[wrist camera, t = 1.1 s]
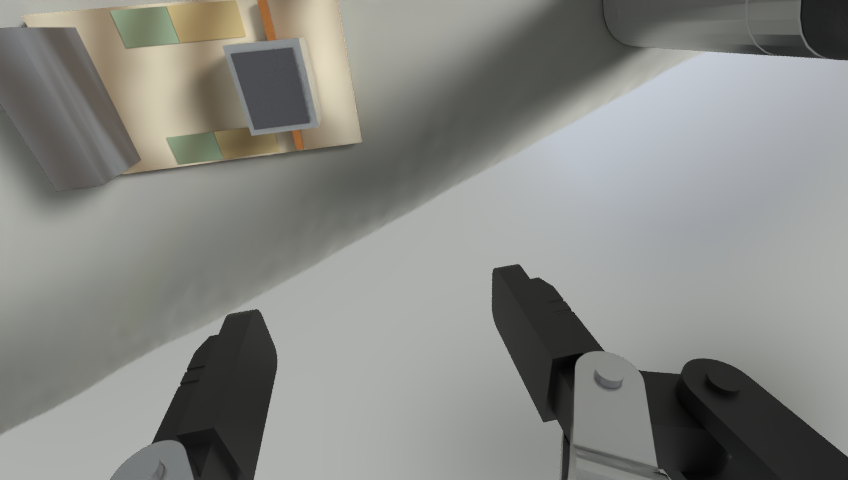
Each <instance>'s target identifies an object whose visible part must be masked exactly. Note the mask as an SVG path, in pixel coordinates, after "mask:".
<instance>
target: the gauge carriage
mask: <svg viewBox="0 0 848 480" xmlns="http://www.w3.org/2000/svg"><path fill="white" fill-rule="evenodd" d="M257 2H258V6H259V10H260V14H261V17H262V21H263V25H264V29H265V32H266V36H267V40H266V41H256V42H246V43H237V44H230V45H223V46H222V47H223V50H224V53H225V56H226V59H227V62H228V65H229V68H230V71H231V74H232V77H233V80H234V84H235V87H236V90H237V93H238V96H239V99H240V102H241V105H242V108H243V111H244V114H245V117H246V120H247V124H248V127H249V130H250V133H251V136H253V135H261V134H269V133H277V132H285V131H292V134H293V137H294V141H295V145H296V149H297V150H299V149H304V144H303V140H302V136H301V132H300V130H301V129H308V128H316V127H319V125H320V121H321V118H322V109H321V105H320V100H319V96H318V91H317V86H316V82H315V77H314V73H313V68H312V64H311V59H310V54H309V50H308V45H307V41H306V37H296V38H286V39H277V38H276V34H275V30H274V26H273V22H272V18H271V14H270V10H269V6H268V3H267V0H257Z"/></svg>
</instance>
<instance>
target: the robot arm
mask: <svg viewBox="0 0 848 480" xmlns="http://www.w3.org/2000/svg"><path fill="white" fill-rule="evenodd" d="M603 10H604V18H605V21H606V24H607V27H608V29H609V31H610V32H611V34H612V35H613V36H614V37H615V38H616V39H617V40H618V41H619V42H621V43H623V44H625V45H629V46H636V47H651V48H663V49H678V50H694V51H709V52H725V53H740V54H755V55H770V56H790V57H805V58H821V59H822V58H823V59H834V60H848V0H603ZM492 313H493V318H494V322H495V325H496V327H497V329H498V331H499V333H500V335H501V337H502V339H503V341H504V344H505V345H506V347H507V349H508V352H509V354H510V355H511V358H512V360H513V362H514V364H515V366H516V368H517V370H518V372H519V374H520V376H521V378H522V380H523V382H524V384H525V386H526V388H527V390H528V392H529V394H530V396H531V398H532V400H533V402H534V404H535V406H536V408H537V410H538V412H539V414H540V416H541V418H542V421H543V422H547V421H552V420H558V422H559V424H560V426H561V427H562V430H563V433H562V441H561V461H560V479H559V480H670V479H671V480H848V457H847V456H846V455H844V454H843V453H842V452H841V451H840V450H838V449H837V448H836V447H835V446H833V445H832V444H831V443H830V442H828V441H827V440H826V439H825V438H824V437H822V436H821V435H820V434H819V433H817V432H816V431H815V430H814V429H812V428H811V427H810V426H809V425H808V424H806V423H805V422H804V421H803V420H802V419H800V418H799V417H798V416H797V415H795V414H794V413H793V412H792V411H790V410H789V409H788V408H787V407H786V406H784V405H783V404H782V403H781V402H780V401H778V400H777V399H776V398H775V397H773V396H772V395H771V394H769V393H768V392H767V391H766V390H765V389H764V388H762V387H761V386H760V385H759V384H757V383H756V382H755V381H754V380H752V379H751V378H750V377H749V376H747V375H746V374H745V373H743V372H742V371H740V370H739V369H737V368H735V367H733V366H731V365H729V364H726V363H724V362H720V361H717V360H712V359H694V360H691V361H689V362H687V363H686V364H685V365H684V367H683V369H682V372H681V374H672V373H659V372H647V371H640V370H638V369H637V368H636V367H635V366H634V365H633V364H631V363H630V362H629V361H627V360H626V359H624V358H622V357H620V356H618V355H616V354H613V353H609V352H605V351H604V350H603V349H602V347H601V346H600V345H599V344H598V342H597V341H596V340H595V339H594V337H593V336H592V335H591V334H590V332H589V331H588V330H587V328H586V327H585V326H584V325H583V323H582V322H581V321H580V320H579V318H578V317H577V316H576V315H575V313H574V312H572V311H571V308H570V307H569V306H568V304H567V303H566V302H565V301H563V298H562V297H561V296H560V294H559V293H558V292H557V291H556V289H555V288H554V287H553V286H552V285H550V284H548V283H546V282H545V281H544V280H542V279H540V278H534V279H530V278H529V277H528V275H527V274H526V273H525V272H524V270H523V268H522V267H521V266H520V265H518V264H516V265H510V266H504V267H499V268H494V269H493V273H492ZM276 370H277V354H276V349H275V346H274V343H273V341H272V339H271V336H270V334H269V331H268V329H267V326H266V324H265V322H264V319H263V317H262V314H261V313H260V312H259V310H257V309H255V310H250V311H244V312H238V313H233V314H229V315H227V316H226V318H225V321H224V323H223V325H222V328H221V330H220V333H219V335H214V336H210V337H209V338H208V339H207V340H206V341H205V342H204V343H203V344H202V345H201V346H200V347H199V348H198V349H197V350H196V352H195V353H194V355H193V357H192V359H191V362H190V364H189V366H188V368H187V372H186V373H185V374H184V376H183V378H182V381H181V383H180V384H181V386H180V387H178V389H177V391H176V393H175V395H174V398H173V400H172V402H171V404H170V406H169V408H168V410H167V412H166V414H165V417H164V419H163V421H162V423H161V425H160V427H159V429H158V431H157V434H156V436H155V438H154V440H153V442H152V444H151V445H148V446H147V447H145V448H143V449H141V450H140V451H138V452H137V453H135V454H134V455H132V456H131V457H130V458H129V459H127V460H126V461H125V462H124V463H123V464H122V465H121V466H120V467H119V468H118V469H117V471H116V472H115V473H114V475H113V476H112V477H111V479H110V480H254V475H255V470H256V465H257V461H258V456H259V451H260V447H261V442H262V437H263V432H264V427H265V423H266V418H267V413H268V408H269V403H270V399H271V394H272V389H273V385H274V380H275V375H276ZM659 469H663V470H664V471H665V472H666V473H667V475H668V476H669V477H670V479H669V478H668V476H667V475H666V474H663V473H660V471H659Z"/></svg>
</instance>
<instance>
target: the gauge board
mask: <svg viewBox="0 0 848 480" xmlns="http://www.w3.org/2000/svg"><path fill="white" fill-rule="evenodd" d="M267 3H268V6H269V10H270V14H271V18H272V22H273V26H274V30H275V34H276V38H277V39H286V38H296V37H306V41H307V45H308V50H309V54H310V59H311V64H312V68H313V73H314V77H315V82H316V86H317V91H318V96H319V100H320V105H321V109H322V118H321V121H320V125H319V127H316V128H308V129H301V130H300V132H301V136H302V140H303V144H304V149H299V150H297V149H296V145H295V141H294V137H293V134H292V131H285V132H277V133H269V134H261V135H253V136H251V133H250V130H249V127H248V124H247V120H246V117H245V114H244V111H243V108H242V105H241V102H240V99H239V96H238V93H237V90H236V87H235V84H234V80H233V77H232V74H231V71H230V68H229V65H228V62H227V59H226V56H225V53H224V50H223V47H222V46H223V45H230V44H237V43H246V42H256V41H266V40H267V36H266V32H265V29H264V25H263V21H262V17H261V14H260V10H259V6H258V2H257V0H193V1H181V2H169V3H158V4H146V5H134V6H123V7H111V8H99V9H88V10H76V11H64V12H52V13H41V14H29V15H21V16H22V18H23V19H24V21H25V23H26V25H27V27H9V28H0V104H1V106H2V107H3V109H4V110H5V112H6V113H7V115H8V116H9V118H10V119H11V121H12V123H13V124H14V126H15V127H16V129H17V130H18V132H19V133H20V135H21V136H22V138H23V140H24V141H25V143H26V144H27V146H28V147H29V149H30V150H31V152H32V153H33V155H34V157H35V158H36V160H37V161H38V163H39V164H40V166H41V167H42V169H43V170H44V172H45V174H46V175H47V177H48V178H49V180H50V181H51V183H52V184H53V186H54V187H55V189H56V191H57V192H58V191H65V190H73V189H80V188H87V187H95V186H102V185H104V184H105V183H107V182H108V181H110V180H111V179H113V178H115V177H116V176H118V175H121V174H129V173H136V172H144V171H151V170H159V169H166V168H174V167H181V166H189V165H196V164H204V163H211V162H219V161H226V160H234V159H241V158H249V157H256V156H264V155H271V154H278V153H286V152H293V151H301V150H308V149H316V148H323V147H331V146H338V145H346V144H353V143H361V142H362V138H361V132H360V126H359V120H358V114H357V109H356V103H355V97H354V91H353V85H352V79H351V74H350V68H349V62H348V56H347V50H346V44H345V39H344V33H343V27H342V21H341V15H340V9H339V4H338V0H267Z"/></svg>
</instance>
